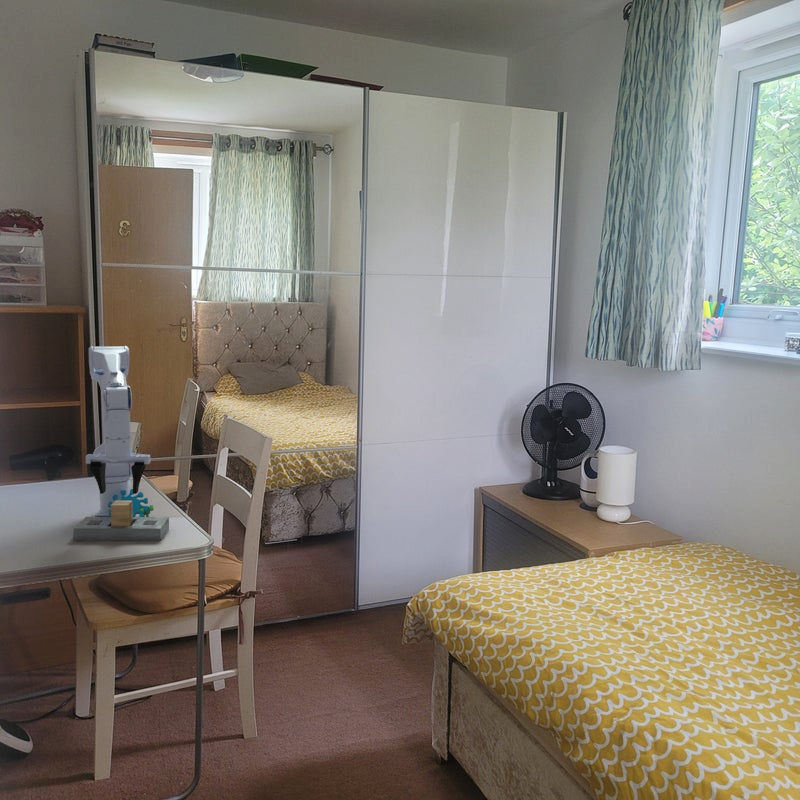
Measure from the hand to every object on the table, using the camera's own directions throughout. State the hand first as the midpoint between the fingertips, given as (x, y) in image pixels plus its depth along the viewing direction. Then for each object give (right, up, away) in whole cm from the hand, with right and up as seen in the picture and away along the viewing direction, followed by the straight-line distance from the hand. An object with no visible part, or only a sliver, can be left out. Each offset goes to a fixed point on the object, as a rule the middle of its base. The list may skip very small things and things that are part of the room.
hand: (119, 492), depth 184 cm
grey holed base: (0, -10, +1) cm, 10 cm away
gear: (-1, -9, +12) cm, 15 cm away
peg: (0, -10, +1) cm, 10 cm away
